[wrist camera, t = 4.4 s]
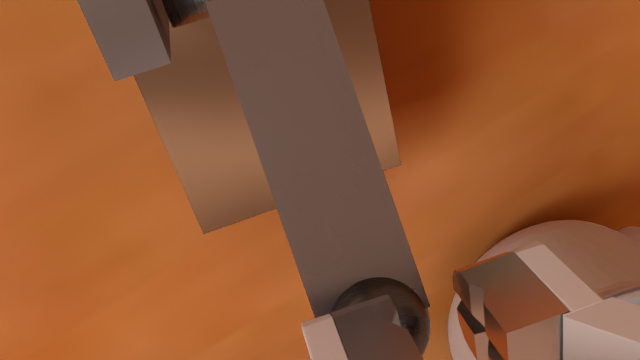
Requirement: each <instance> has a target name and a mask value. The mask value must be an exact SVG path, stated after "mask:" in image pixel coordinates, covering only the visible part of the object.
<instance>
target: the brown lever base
mask: <svg viewBox="0 0 640 360" xmlns="http://www.w3.org/2000/svg"><path fill="white" fill-rule="evenodd" d="M77 1H78V3H79V5H80V7H81V9H82V11H83V14H84V16H85V18H86V20H87V22H88V24H89V27H90V29H91V31H92V33H93V35H94V37H95V39H96V42H97V44H98V46H99V48H100V50H101V52H102V55H103V57H104V59H105V61H106V63H107V65H108V68H109V70H110V72H111V74H112V76H113V78H114V81H117V80H120V79H123V78H127V77H130V76H133V75H134V77H135V80H136V82H137V84H138V86H139V89H140V91H141V93H142V96H143V98H144V100H145V102H146V105H147V107H148V109H149V111H150V114H151V116H152V118H153V120H154V123H155V125H156V127H157V130H158V132H159V134H160V136H161V139H162V141H163V143H164V145H165V148H166V150H167V152H168V154H169V157H170V159H171V161H172V164H173V166H174V168H175V170H176V173H177V175H178V177H179V179H180V182H181V184H182V186H183V188H184V191H185V193H186V195H187V198H188V200H189V202H190V204H191V207H192V209H193V211H194V213H195V216H196V218H197V220H198V222H199V225H200V227H201V229H202V232H203V234H205V233H208V232H211V231H214V230H217V229H220V228H222V227H225V226H228V225H231V224H234V223H237V222H240V221H242V220H245V219H248V218H251V217H254V216H257V215H259V214H262V213H265V212H268V211H271V210H274V209H277V207H276V204H275V202H274V199H273V196H272V193H271V190H270V187H269V184H268V182H267V179H266V176H265V173H264V170H263V167H262V164H261V161H260V159H259V156H258V153H257V150H256V147H255V144H254V141H253V139H252V136H251V133H250V130H249V127H248V124H247V121H246V118H245V116H244V113H243V110H242V107H241V104H240V101H239V98H238V96H237V93H236V90H235V87H234V84H233V81H232V78H231V76H230V73H229V70H228V67H227V64H226V61H225V58H224V55H223V53H222V50H221V47H220V44H219V41H218V38H217V35H216V33H215V30H214V27H213V24H212V21H211V18H210V17H208V18H205V19H202V20H198V21H195V22H192V23H189V24H186V25H182V26H179V27H176V28H173V27H172V25H171V23H170V20H169V18H168V16H167V13H166V11H165V8H164V5H163V3H162V0H77ZM323 1H324V4H325V7H326V9H327V12H328V15H329V18H330V21H331V24H332V27H333V29H334V32H335V35H336V38H337V41H338V44H339V47H340V50H341V52H342V55H343V58H344V61H345V64H346V67H347V70H348V72H349V75H350V78H351V81H352V84H353V87H354V90H355V92H356V95H357V98H358V101H359V104H360V107H361V110H362V113H363V115H364V118H365V121H366V124H367V127H368V130H369V133H370V135H371V138H372V141H373V144H374V147H375V150H376V153H377V156H378V158H379V161H380V164H381V167H382V170H383V171H385V170H387V169H390V168H393V167H396V166H399V165H401V161H400V156H399V151H398V146H397V141H396V136H395V131H394V126H393V121H392V116H391V110H390V105H389V100H388V95H387V90H386V85H385V80H384V75H383V70H382V65H381V59H380V54H379V49H378V44H377V39H376V34H375V29H374V24H373V19H372V14H371V8H370V3H369V0H323Z"/></svg>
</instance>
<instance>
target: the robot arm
mask: <svg viewBox="0 0 640 360" xmlns="http://www.w3.org/2000/svg"><path fill="white" fill-rule="evenodd" d="M453 285H454V290H455V291H456V293H457V294H458V295H459V297H460V298H461V301H460V303H459V305H458V307H457V314H458V320H459V324H460V327H461V330H462V333H463V336H464V339H465V340H466V342H467V344H468V346H469V348H470V350H471V352H472V353H473V355H474V356H475V358H476V360H640V306H639V305H636V304H633V303H629V302H626V301H623V300H620V299H617V298H614V297H611V298H608V299H605V300H603V299H602V298H601V297H600V296H599V295H598V294H597V293H596V292H594V291H593V290H592V289H591V288H590V287H589V286H588V285H587V284H586V283H585V282H584V281H583V280H582V279H580V278H579V277H578V276H577V275H576V274H575V273H574V272H573V271H572V270H571V269H570V268H569V267H568V266H567V265H565V264H564V263H563V262H562V261H561V260H560V259H559V258H558V257H557V256H556V255H555V254H554V253H553V252H551V251H550V250H549V249H548V248H547V247H546V246H545V245H544V244H543V243H541V242H538V241H534V242H531V243H528V244H526V245H523V246H520V247H517V248H515V249H512V250H509V251H508V252H504V253H501V254H499V255H496V256H493V257H490V258H488V259H485V260H482V261H479V262H476V263H474V264H471V265H468V266H465V267H463V268H460V269H457V270H454V272H453ZM301 326H302V332H303V335H304V338H305V341H306V345H307V348H308V351H309V355H310V358H311V360H424V359H423V357H422V355H421V354H420V352H419V350H418V348H417V346H416V344H415V342H414V340H413V338H412V337H411V335H410V333H409V331H408V330H407V329H405V328H403V327H401V326H400V322H399V317H398V313H397V309H396V307H395V305H394V303H393V302H392V300H391V298H390V297H389V296H388V294H386V295H383V296H380V297H377V298H374V299H371V300H368V301H365V302H362V303H358V304H355V305H352V306H349V307H346V308H343V309H340V310H337V311H334V312H331V315H330V314H327V315H324V316H320V317H317V318H314V319H311V320H308V321H305V322H301Z"/></svg>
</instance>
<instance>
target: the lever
mask: <svg viewBox="0 0 640 360" xmlns="http://www.w3.org/2000/svg"><path fill="white" fill-rule="evenodd" d="M162 3H163V5H164V8H165V11H166V13H167V16H168V18H169V20H170V23H171V25H172V27H173V28H176V27H179V26H182V25H186V24H189V23H192V22H195V21H198V20H202V19H205V18H208V17H210V18H211V21H212V24H213V27H214V30H215V33H216V35H217V38H218V41H219V44H220V47H221V50H222V53H223V55H224V58H225V61H226V64H227V67H228V70H229V73H230V76H231V78H232V81H233V84H234V87H235V90H236V93H237V96H238V98H239V101H240V104H241V107H242V110H243V113H244V116H245V118H246V121H247V124H248V127H249V130H250V133H251V136H252V139H253V141H254V144H255V147H256V150H257V153H258V156H259V159H260V161H261V164H262V167H263V170H264V173H265V176H266V179H267V182H268V184H269V187H270V190H271V193H272V196H273V199H274V202H275V204H276V207H277V210H278V213H279V216H280V219H281V222H282V225H283V227H284V230H285V233H286V236H287V239H288V242H289V245H290V247H291V250H292V253H293V256H294V259H295V262H296V265H297V267H298V270H299V273H300V276H301V279H302V282H303V285H304V288H305V290H306V293H307V296H308V299H309V302H310V305H311V308H312V310H313V313H314V316H315V318H317V317H320V316H324V315H327V314H330V315H331V312H334V311H337V310H340V309H343V308H346V307H349V306H352V305H355V304H358V303H362V302H365V301H368V300H371V299H374V298H377V297H380V296H383V295H386V294H388V296H389V297H390V298H391V300H392V302H393V303H394V305H395V307H396V309H397V313H398V317H399V322H400V326H401V327H403V328H405V329H407V330H408V331H409V333H410V335H411V337H412V338H413V340H414V342H415V344H416V346H417V348H418V350H419V352H420V354H421V355H423V353H424V351H425V349H426V346H427V344H428V340H429V335H430V319H429V313H428V309H427V307H430V304H429V302H428V299H427V296H426V293H425V290H424V287H423V284H422V282H421V279H420V276H419V273H418V270H417V267H416V264H415V262H414V259H413V256H412V253H411V250H410V247H409V244H408V241H407V239H406V236H405V233H404V230H403V227H402V224H401V221H400V219H399V216H398V213H397V210H396V207H395V204H394V201H393V198H392V196H391V193H390V190H389V187H388V184H387V181H386V178H385V176H384V173H383V170H382V167H381V164H380V161H379V158H378V156H377V153H376V150H375V147H374V144H373V141H372V138H371V135H370V133H369V130H368V127H367V124H366V121H365V118H364V115H363V113H362V110H361V107H360V104H359V101H358V98H357V95H356V92H355V90H354V87H353V84H352V81H351V78H350V75H349V72H348V70H347V67H346V64H345V61H344V58H343V55H342V52H341V50H340V47H339V44H338V41H337V38H336V35H335V32H334V29H333V27H332V24H331V21H330V18H329V15H328V12H327V9H326V7H325V4H324V1H323V0H162Z"/></svg>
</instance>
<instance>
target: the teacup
mask: <svg viewBox="0 0 640 360" xmlns="http://www.w3.org/2000/svg"><path fill="white" fill-rule="evenodd" d="M534 241H538V242H541V243H543V244H544V245H545V246H546V247H547V248H548V249H549V250H550V251H551V252H553V253H554V254H555V255H556V256H557V257H558V258H559V259H560V260H561V261H562V262H563V263H564V264H565V265H567V266H568V267H569V268H570V269H571V270H572V271H573V272H574V273H575V274H576V275H577V276H578V277H579V278H580V279H582V280H583V281H584V282H585V283H586V284H587V285H588V286H589V287H590V288H591V289H592V290H593V291H594V292H596V293H597V294H598V295H599V296H600V297H601V298H602V299H603V300H605V299H608V298H611V297H614V298H617V299H620V300H623V301H626V302H629V303H633V304H636V305H639V306H640V226H627V227H623V228H620V229H619V230H618V231H615V230H613V229H611V228H608V227H606V226H603V225H600V224H596V223H592V222H588V221H581V220H556V221H549V222H544V223H541V224H537V225H533V226H530V227H527V228H525V229H522V230H520V231H518V232H516V233H514V234H512V235H510V236H508V237H506V238H505V239H503V240H501V241H500V242H498V243H497V244H496V245H494V246H493V247H492V248H490V249H489V250H488V251H487V252H486V253H485V254H484V255H482V256H481V257H480V258H479V259H478V261H477V262H479V261H482V260H485V259H488V258H490V257H493V256H496V255H499V254H501V253H504V252H508V251H509V250H512V249H515V248H517V247H520V246H523V245H526V244H528V243H531V242H534ZM460 301H461V298H460V297H459V295H458V294H457V293H456V294H455V296H454V298H453V301H452V305H451V308H450V312H449V318H448V339H449V347H450V351H451V355H452V358H453V360H476V358H475V356H474V355H473V353H472V352H471V350H470V348H469V346H468V344H467V342H466V340H465V339H464V336H463V333H462V330H461V327H460V324H459V320H458V314H457V307H458V305H459V303H460Z"/></svg>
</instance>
